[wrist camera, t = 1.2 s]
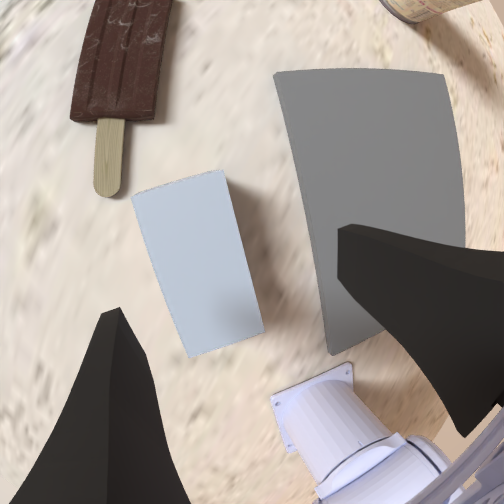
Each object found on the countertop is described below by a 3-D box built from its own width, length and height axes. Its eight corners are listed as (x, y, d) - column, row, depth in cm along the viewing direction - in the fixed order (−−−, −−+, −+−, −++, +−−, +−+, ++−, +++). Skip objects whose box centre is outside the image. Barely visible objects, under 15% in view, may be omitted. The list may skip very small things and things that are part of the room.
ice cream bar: (149, 195, 18) (174, -7, 15) (147, 197, 17) (176, -19, 13) (71, 197, 17) (103, -5, 13) (63, 199, 15) (100, -16, 12)
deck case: (242, 298, 21) (265, 331, 17) (181, 318, 20) (188, 358, 16) (208, 171, 19) (223, 169, 14) (139, 191, 18) (130, 197, 13)
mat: (458, 279, 28) (463, 281, 28) (328, 351, 25) (332, 356, 24) (437, 75, 22) (443, 74, 21) (272, 75, 18) (277, 72, 17)
